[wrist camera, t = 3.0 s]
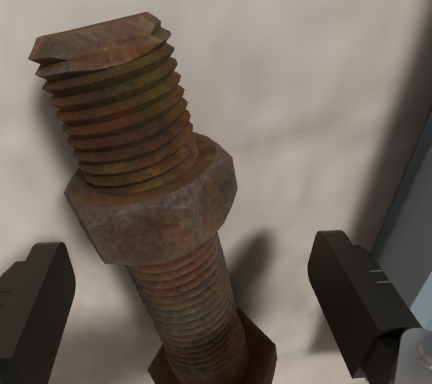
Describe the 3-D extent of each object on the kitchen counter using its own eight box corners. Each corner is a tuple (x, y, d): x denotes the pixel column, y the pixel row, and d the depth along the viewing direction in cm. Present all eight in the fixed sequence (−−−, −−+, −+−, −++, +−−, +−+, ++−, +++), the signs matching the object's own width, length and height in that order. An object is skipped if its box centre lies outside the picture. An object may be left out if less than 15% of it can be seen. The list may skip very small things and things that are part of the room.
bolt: (143, 8, 10) (223, 305, 19) (-31, 49, 8) (144, 363, 17) (267, -11, 6) (301, 387, 14) (-27, 65, 4) (207, 480, 12)
